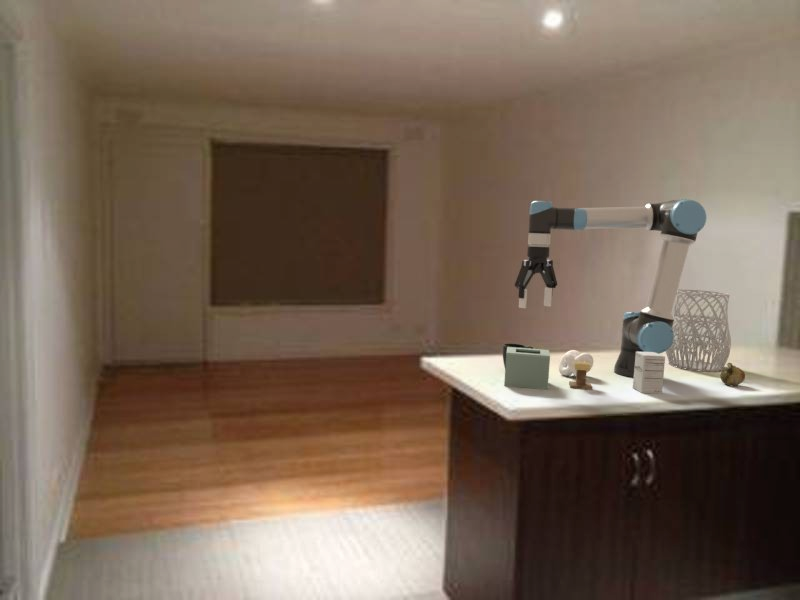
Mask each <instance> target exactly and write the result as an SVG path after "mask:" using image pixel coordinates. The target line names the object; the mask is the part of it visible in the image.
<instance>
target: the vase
mask: <svg viewBox="0 0 800 600" xmlns="http://www.w3.org/2000/svg"><path fill="white" fill-rule="evenodd" d="M683 295H684V296H683ZM730 296H731V295H730V293H727V292H721V291H720V292H719V291H714V290H701V289H700V290H699V289H677V293H676V297H675V302H674V308H673V313H672V316H673V318H674V322H673V326H672V330H673V333H674V341H673V343H672V345H671V347H670V348H669V349H668V350H666V351H665V354H666V358H667V361H668V364H669V363H670V364H671V365H670V364H669V365H670V366H672V365H673V366H672V367H674V366H677V367H676V368H678V367H681V368H680V369H682V368H686V369H685V370H688V369H692V370H691V371H696V370H700V371H699V372H720V371H719V370H721V371H723V370H722V369H721V367H722V366H723V367H726V366H725V365H727V363H728V360H729V356H730V353H731V346H732V340H731V333H730V329H729V321H728V319H729V318H728V308H729V307H728V306H729V305H728V304H729V299H730ZM698 297H700V299H698V300H696V298H698ZM711 298H712V301H709V300H710V299H711ZM679 299H680V301H679ZM689 299H690V300H691V301H690V302H688V304H687V301H688V300H689ZM702 300H703V301H702ZM721 300H722V301H721ZM700 301H701V302H702V303H701V304H699V303H700ZM715 301H716V302H715ZM693 302H694V303H693ZM714 302H715V303H714ZM692 303H693V304H692ZM705 303H707V304H706V306H704V308H702V306H703V305H705ZM713 303H714V305H712V304H713ZM683 304H684V305H685V308H684V310H683V311H682V312H681V308H682V306H683ZM691 304H692V305H691ZM690 305H691V306H690ZM716 305H718V306H717V307H716ZM689 306H690V307H689ZM695 306H697V309H696V310H695V312H694V313H693V314H692V313H691V310H692V309H693V308H694V307H695ZM709 307H710V310H709V312H708V313H707V314H706V315H705V313H704V312H705V311H706V310H707V309H708V308H709ZM715 307H716V309H714V308H715ZM719 309H720V313H719V315H718V314H717V312H719V311H718V310H719ZM699 311H700V313H699V314H698V312H699ZM685 312H686V313H685ZM684 313H685V314H684ZM711 313H712V314H713V315H712V316H710V315H711ZM697 314H698V315H697ZM721 316H722V317H721ZM702 319H703V320H702ZM696 324H697V325H696ZM684 325H685V326H684ZM689 327H690V328H689ZM688 329H689V330H688ZM703 329H706V330H704V332H703ZM699 330H700V332H699ZM714 332H715V333H714ZM676 336H677V337H676ZM675 337H676V338H675ZM690 337H691V338H690ZM698 347H699V351H698ZM706 355H707V359H705V358H706ZM705 360H706V361H705ZM710 361H711V362H710Z"/></svg>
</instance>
